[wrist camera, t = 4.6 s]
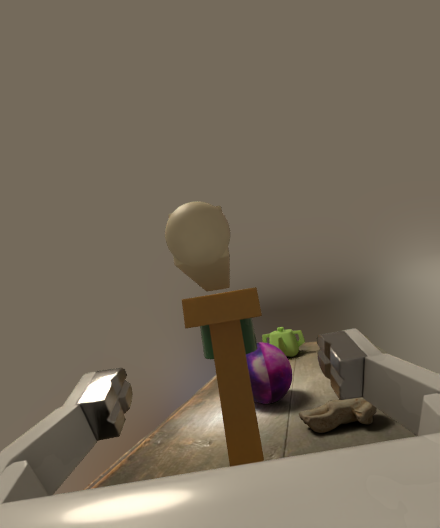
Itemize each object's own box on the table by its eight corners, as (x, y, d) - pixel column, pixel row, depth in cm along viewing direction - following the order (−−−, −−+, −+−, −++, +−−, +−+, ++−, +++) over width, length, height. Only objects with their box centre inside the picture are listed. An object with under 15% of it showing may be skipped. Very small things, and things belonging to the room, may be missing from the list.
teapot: (307, 359, 98) (300, 327, 101) (260, 363, 104) (255, 333, 107) (307, 350, 115) (301, 323, 118) (267, 353, 122) (262, 328, 124)
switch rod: (236, 252, 9) (223, 183, 9) (160, 264, 9) (153, 195, 9) (231, 289, 24) (227, 262, 24) (204, 293, 24) (200, 267, 24)
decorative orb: (285, 387, 70) (275, 336, 73) (307, 406, 56) (294, 341, 59) (237, 397, 69) (228, 344, 72) (246, 419, 54) (235, 352, 57)
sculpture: (317, 449, 41) (392, 423, 43) (308, 418, 42) (382, 395, 44) (301, 431, 48) (366, 410, 49) (293, 406, 49) (358, 385, 51)
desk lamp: (368, 638, 17) (289, 280, 23) (182, 666, 17) (147, 303, 23) (298, 472, 35) (263, 293, 40) (206, 487, 35) (183, 306, 40)
